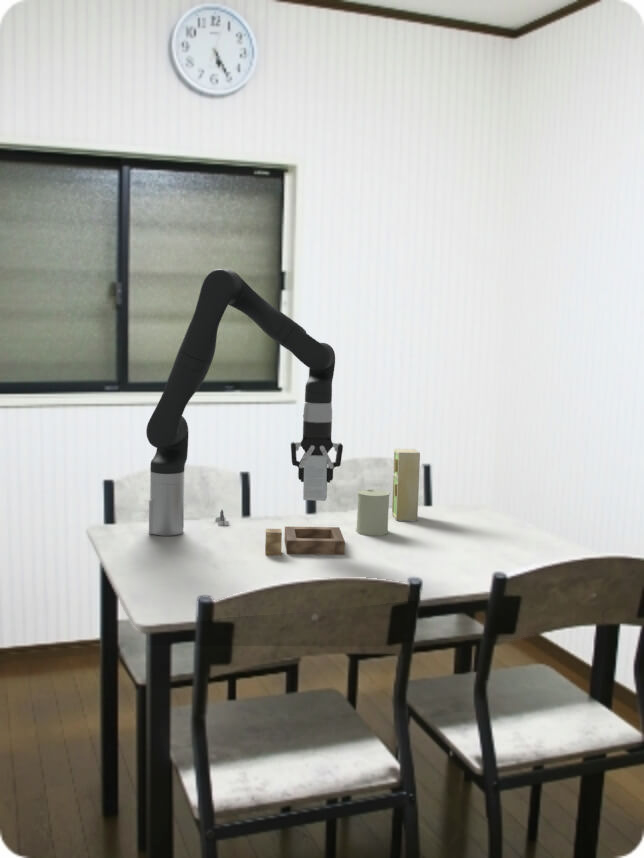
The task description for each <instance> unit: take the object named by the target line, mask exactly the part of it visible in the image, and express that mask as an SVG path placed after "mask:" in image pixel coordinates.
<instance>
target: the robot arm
mask: <svg viewBox="0 0 644 858" xmlns="http://www.w3.org/2000/svg"><path fill="white" fill-rule="evenodd" d="M228 306H230V307H232V308H234V309H236V310H237V311H240V312H241V313H242V314H244V315H246V316H247V317H248V318H249V319H251V320H252V321H253V322H254V323H255V324H256V325H257V326H258V327H259V328H260V329H261V330H262V331H263V332H264V333H265V334H266V335H267V336H269V337H270V338H271V339H272V340H274V341H275V342H276V343H278V344H279V345H280V346H282V347H283V348H284V349H286V350H288V351H289V352H290V353H291V354H292V355H293V356H295V358H297V359H298V361H300V362H301V363H302V364H303V365H304V366H306V367H307V368H308V379H307V380H306V383H305V389H304V404H303V406H304V407H303V414H302V417H303V419H302V420H303V422H302V424H303V425H302V439H301V441H300V442H294V441H291V442H290V454H291V464H292V466H295V467H297V468H298V470H297V471H298V472H297V478H298V480H299V481H300V483H304V460H306V461H307V460H308V459H309V456H310V455H323V456H327V464H328V466H327V484H330V483H331V481H333V480H334V469H335V468H336V467H341V465H342V464H341V463H342V457H343V456H342V455H343V451H344V449H343V448H344V445H343V444H342V443H341V442H337V443H336V442H333V441H332V429H333V426H332V425H333V403H332V402H333V401H332V400H333V379H334V373H335V367H336V354H335V350H334V348H333V347H332V346H331V345H330V344H328V343H326V342H319V341H318V340H316V339H315V338H313V336H311V335H309V333H307V331H306V329H305V328H304V327H302V326H301V325H299V324H298V323H297V322H296V321H295V320H293V319H291V317H289V316H288V315H286V314H285V313H283V312H281V311H280V310H279V309H278V308H276V307H275V306H273V305H272V304H270V303H269V302H268V301H267V300H265V299H264V298H263V297H261V296H260V295H259V294H258V293H257V292H256V291H255V290H254V289H253V288H252V287H251V286H250V285H249V284H248V283H247V282H246V280H244V279H243V278H242V277H241V276H240V275H239V274H238V273H237V272H236V271H234V270H231V269H224V268H219V269H214V270H212V271H210V272H208V273H207V275H206V276H205V278H204V279H203V282H202V285H201V288H200V291H199V295H198V299H197V302H196V306H195V311H194V313H193V315H192V318H191V321H190V322H189V325H188V327H187V329H186V332H185V334H184V337H183V340H182V342H181V344H180V346H179V348H178V351H177V354H176V357H175V359H174V362H173V365H172V368H171V371H170V373H169V375H168V378H167V381H166V384H165V386H164V390H163V392H162V395H161V397H160V399H159V401H158V403H157V404H156V407H155V408H154V410H153V413H152V414H151V417H150V418H149V421H148V422H147V426H146V434H145V435H146V438H147V441H148V443H149V444H150V445H151V446H153V447H154V448H156V451H155V455H154V456H153V458H152V460H151V461H150V467H149V468H150V470H149V471H150V475H149V477H150V478H149V479H150V480H149V481H150V484H149V485H150V486H149V488H150V491H149V496H150V497H149V500H148V535H155V536H163V537H164V536H166V537H167V536H178V535H181V534H183V533H184V528H185V527H184V526H185V525H184V524H185V523H184V522H185V521H184V519H185V514H184V513H185V511H184V510H185V467H186V462H187V460H188V451H189V450H188V449H189V426H188V423H187V420H186V419H185V417H184V416H183V414H184V412H185V410H186V406H187V405H188V404H189V401H190V400H191V398H192V397H193V396H194V394H195V393H196V392H197V391H198V390H199V388H200V387H201V385H202V384H203V382H204V381H205V379H206V376H207V375H208V372H209V370H210V368H211V365H212V363H213V359H214V357H215V352H216V348H217V347H216V346H217V337H218V329H219V327H220V323H221V320H222V318H223V316H224V314H225V312H226V309H227V308H228ZM300 447H301V448H302V450H303V451H304V453H303V455H302V457H301V459H300V460H297V451H299V449H300ZM332 448H333V449H334V452H336V454H335V461H333V462H332V460H331V458H330V456H329V454H328V453H329V452H330V451H331V450H332ZM304 455H305V456H304ZM307 456H308V457H307Z"/></svg>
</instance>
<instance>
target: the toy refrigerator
mask: <svg viewBox="0 0 644 858" xmlns="http://www.w3.org/2000/svg"><path fill="white" fill-rule="evenodd" d="M420 461H421V453H420V451H418V450H417V449H415V448H394V449H393V467H392V468H393V472H392V473H393V474H392V497H391V499H392V500H391V501H392V502H391V503H392V504H391V515H392V517H393V518H394V519H395V520H396V522H397V521H401V522H403V521H405V522H406V521H408V522H409V521H411V522H412V521H414V522H416V521H418V519H419V518H418V517H419V516H418V514H419V512H418V511H419V490H420V489H419V488H420V487H419V486H420V485H419V484H420V465H421V464H420V463H421V462H420Z"/></svg>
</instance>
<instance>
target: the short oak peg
mask: <svg viewBox="0 0 644 858" xmlns="http://www.w3.org/2000/svg"><path fill="white" fill-rule="evenodd" d="M282 536H283V532H282V528H265V544H264V545H265V546H264V547H265V548H264V549H265V551H264V554H265V556H282Z"/></svg>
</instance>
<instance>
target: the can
mask: <svg viewBox="0 0 644 858" xmlns="http://www.w3.org/2000/svg"><path fill="white" fill-rule="evenodd" d="M389 504H390V492H389V491H387V490H382V489H374V488H373V489H370V488H368V489H360V490H358V491H357V513H356V516H357V517H356V528H355V533H357V532H358V533H357V534H359V533H360V535H362V534H364V536H369V535H372V537H378V536H380V535H381V536H385V534H386V535H387V534H388V533H389V530H388V529H389V506H390V505H389ZM381 536H380V537H381Z"/></svg>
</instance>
